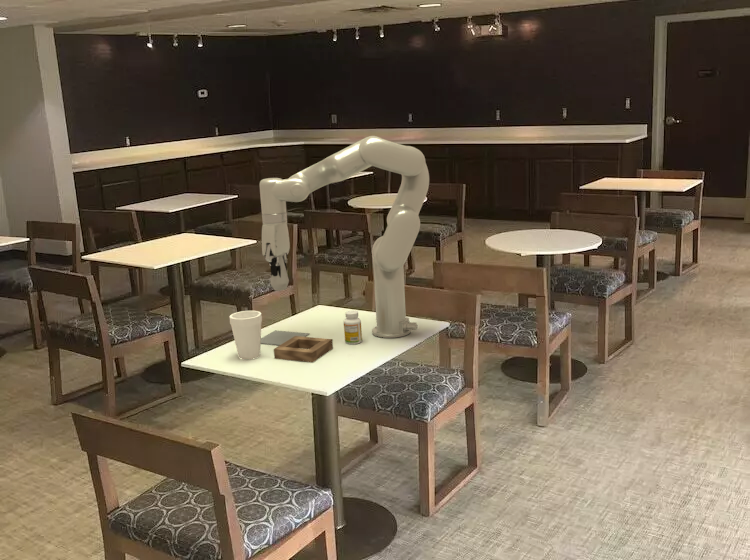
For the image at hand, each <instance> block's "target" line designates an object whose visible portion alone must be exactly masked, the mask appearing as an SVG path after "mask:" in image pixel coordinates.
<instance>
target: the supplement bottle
mask: <svg viewBox="0 0 750 560" xmlns="http://www.w3.org/2000/svg"><path fill="white" fill-rule="evenodd" d="M343 330H344V331H343V332H344V333H343V334H344V342H345V344H347V345H358V344H360V343H362V342H363V336H362V335H363V333H362V320H361V318H360V317H359V311H357V310H347V311H346V312H345V319H344V320H343Z"/></svg>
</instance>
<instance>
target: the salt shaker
mask: <svg viewBox="0 0 750 560" xmlns="http://www.w3.org/2000/svg"><path fill="white" fill-rule="evenodd" d="M283 255H284V252H283V253H282V254H281V255H279V266H280V268H281V278H280V276H279V273H278V275H277V276H273V275H272V277H271V276H270V280H269V281H270V282H269V283H270V285H271V286H270V287H272V289H273V291H277V292H279V291H286V290H287V289H288V286H289V282H290V280H289V275H288V272H286V268H287V267H286V268H285V264H284V260H283V257H282V256H283ZM272 256H274V255H273V254H272ZM274 259H275V258H274Z"/></svg>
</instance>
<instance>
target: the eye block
mask: <svg viewBox="0 0 750 560" xmlns="http://www.w3.org/2000/svg"><path fill="white" fill-rule="evenodd" d="M333 349H334V346H333V339H332V338H324V337H323V338H322V337H310V336H306V337H301V336H294V337H293V338H291V339H289V340H288V341H286V342H284V343H283V344H281V345H279V346H276V347H274V348H273V357H274V358H273V359H276V360H285V361H296V362H304V363H305V362H306V363H314V362H316V361H317V360H318V359H320V358H322V357H323V356H324V355H326V354H327V353H329V352H331V350H333Z"/></svg>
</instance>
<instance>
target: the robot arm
mask: <svg viewBox="0 0 750 560" xmlns="http://www.w3.org/2000/svg"><path fill="white" fill-rule="evenodd" d="M371 167H375V168H378V169H381V170H385V171H388V172H392V173H395V174H399V175H401V184H400V186H399V189H398V192H397V194H396V197H395V199H394V201H393V203H392V206H391V208H390V210H389V212H388V214H387V216H386V223H387V225H386V228H385V231H384V233H383V235H382V236H379V237H378V238H377V239H376V240H375V241H374V243H373V245H372V248H371V254H372V255H371V257H372V268H373V278H374V279H373V280H374V301H375V302H374V303H375V318H376V319H375V321H376V322H375V324H376V326H373V328H372V329H371V333H372V335H373V336H375V337H377V336H378V337H379V338H382V337H383V338H384V339H394V338H395V339H396V338H401V337H404V336H405V337H406V336H408V335H409V334H410V333H411V332H412V331H417V330H419V329H418V328H419V324H418V323H417V322H414V321H413V322H412V321H411V322H410V319H409V318H410V317H406V316H407V315H406V313H407V311H406V297H405V296H406V295H405V294H406V292H405V291H406V290H405V270H404V269H405V268H404V265H405V264H406V262H407V259H408V258H409V255H410V253H411V251H412V248H413V247H414V245H415V241H416V239H417V237H418V235H419V232H420V228H421V219H420V216H419V214H420V211H421V210H422V207H423V205H424V201H425V199H426V196H427V195H428V194H427V193H428V191H429V187H430V186H429V185H430V173H429V172H430V171H429V169H428V166H427V163H426V158H425V155H424V154H423V152H422V151H421V150H420V149H418V148H416V147H415V146H411V145H404V144H400V143H396V142H393V141H390V140H388V139H384V138H383V137H380V136H376V135H370V136H366V137H364V138H363V139H360V140H358V141H356V142H355V143H352V144H350V145H349V146H347V147H345V148H343V149H341V150H339V151H337V152H335V153H333V154H331V155H329V156H327V157H326V158H325V157H324V158H323V159H322V160H320V161H318V162H317V163H314V164H312V165H310V166H309V167H306V168H304V169H302V170H300V171H298V172H297V173H295V174H293V175H291V176H290V177H288V178H285V179H283V178H281V177H268V178H263V179H261V180H260V181H259V194H260V204H261V205H260V206H261V207H260V208H261V217H262V218H261V219H262V226H261V254H262V256H263V257H265V258H264V259H265V261H266V262H268V263H269V266H270V278H271V277H272V275H273V276H277V275H278V273H279V276H280V278H281V268H280V266H279V255H281V254H282V253H283V252H284V255H283V256H282V257H283V260H284V264H285V268H286V272H287V271H288V270H287V257H288V255H289V252H290V249H291V247H290V246H291V245H290V244H291V243H290V234H289V227H288V214H287V202H291V203H293V202H294V203H299V202H303V201H305V200H306V199H307V198H308V196H309V195H310V194H311V193H313V192H314V191H316V190H319V189H320V188H322V187H325V186H327V185H330V184H335V183H339V182H342V181H346V180H348V179H349V178H351V177H353V176H355V175H358V174H359V173H361V172H363V171H365V170H367V169H368V168H369V169H370V168H371ZM272 254H273V255H274V256H272ZM274 258H275V259H274ZM287 273H288V272H287Z"/></svg>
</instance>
